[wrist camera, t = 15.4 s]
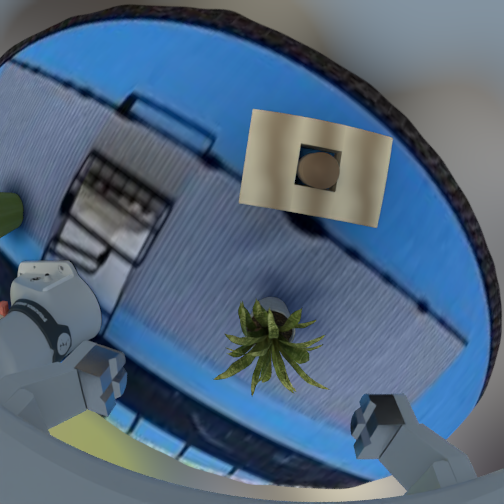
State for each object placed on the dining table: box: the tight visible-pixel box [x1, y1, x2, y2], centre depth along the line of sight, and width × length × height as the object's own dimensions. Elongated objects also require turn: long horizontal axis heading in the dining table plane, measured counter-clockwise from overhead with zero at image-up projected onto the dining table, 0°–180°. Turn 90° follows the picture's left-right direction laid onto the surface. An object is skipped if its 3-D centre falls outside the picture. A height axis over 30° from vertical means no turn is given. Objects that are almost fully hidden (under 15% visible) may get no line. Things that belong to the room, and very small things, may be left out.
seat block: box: [239, 109, 393, 228], centre depth 38 cm, size 18×12×5 cm, turn 81°
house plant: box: [214, 297, 330, 395], centre depth 39 cm, size 14×14×16 cm
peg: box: [296, 152, 340, 189], centre depth 36 cm, size 4×4×10 cm
